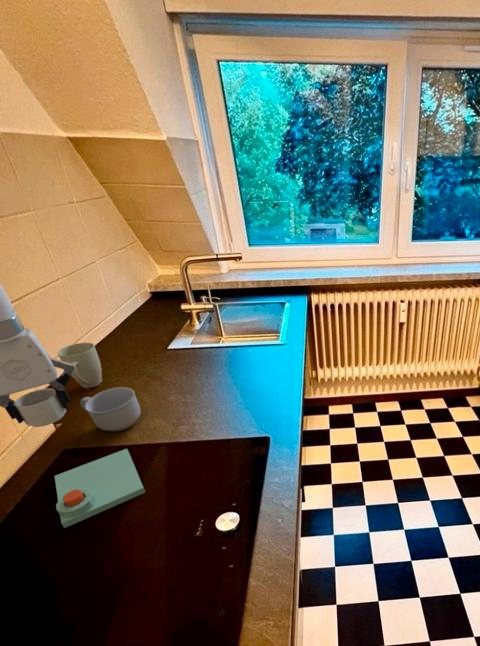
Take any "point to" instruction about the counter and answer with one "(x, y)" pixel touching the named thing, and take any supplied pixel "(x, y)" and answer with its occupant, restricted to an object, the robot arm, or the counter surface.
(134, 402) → the teacup
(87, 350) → the mug
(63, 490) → the scale
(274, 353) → the counter surface
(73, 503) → the tare button
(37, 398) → the bowl
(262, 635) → the counter surface
